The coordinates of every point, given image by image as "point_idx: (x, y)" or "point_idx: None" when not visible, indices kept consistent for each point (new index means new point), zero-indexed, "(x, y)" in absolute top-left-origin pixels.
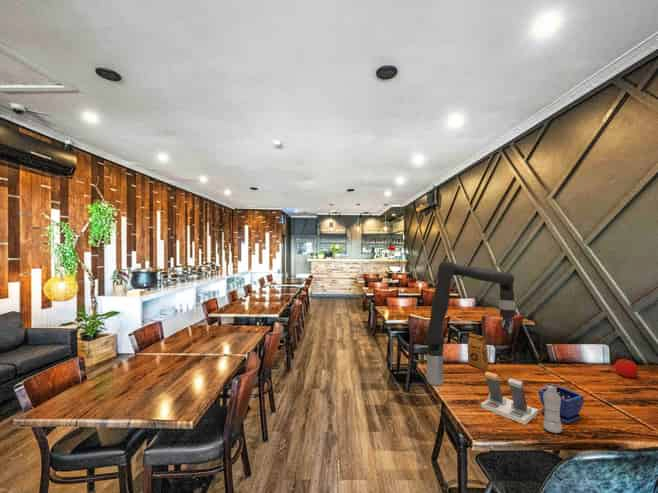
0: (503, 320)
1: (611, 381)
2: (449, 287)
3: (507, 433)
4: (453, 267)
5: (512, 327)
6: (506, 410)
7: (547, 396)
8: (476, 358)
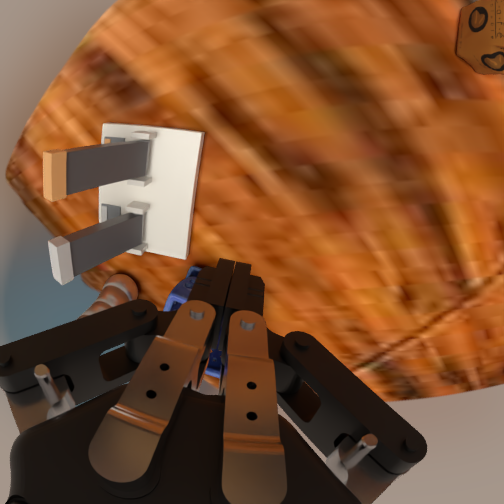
0: (23, 457)
1: (490, 352)
2: None
3: (50, 214)
4: None
5: (293, 419)
6: (112, 193)
7: None
8: (475, 28)
